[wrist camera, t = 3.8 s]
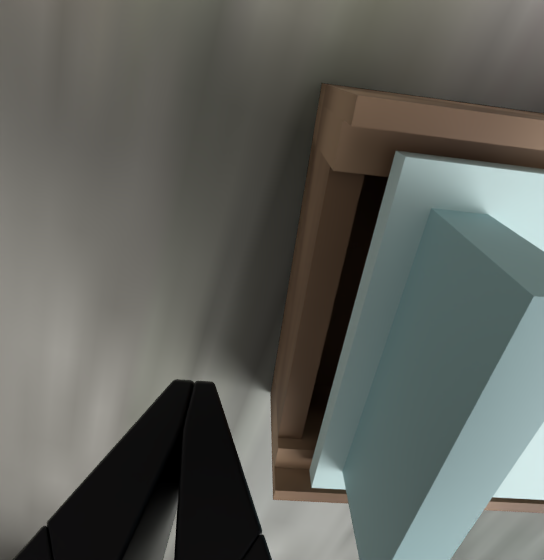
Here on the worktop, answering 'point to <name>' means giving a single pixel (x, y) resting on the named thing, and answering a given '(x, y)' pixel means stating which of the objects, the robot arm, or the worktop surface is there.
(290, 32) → the worktop surface
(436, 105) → the walnut box
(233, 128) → the worktop surface
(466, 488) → the lid
